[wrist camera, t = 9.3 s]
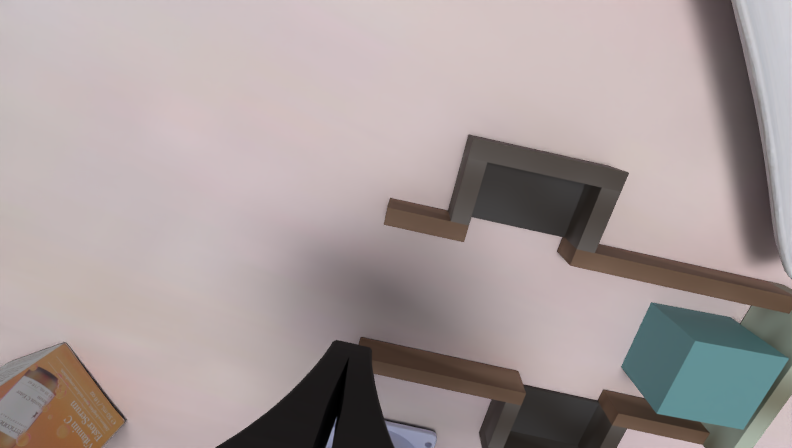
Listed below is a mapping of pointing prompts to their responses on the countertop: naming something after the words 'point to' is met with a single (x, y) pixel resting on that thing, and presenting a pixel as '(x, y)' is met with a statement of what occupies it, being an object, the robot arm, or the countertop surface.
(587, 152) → the countertop surface
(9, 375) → the small box
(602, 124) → the countertop surface
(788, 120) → the salad plate
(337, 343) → the robot arm
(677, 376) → the teal block
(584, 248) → the trap channel
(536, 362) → the countertop surface
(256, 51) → the countertop surface
